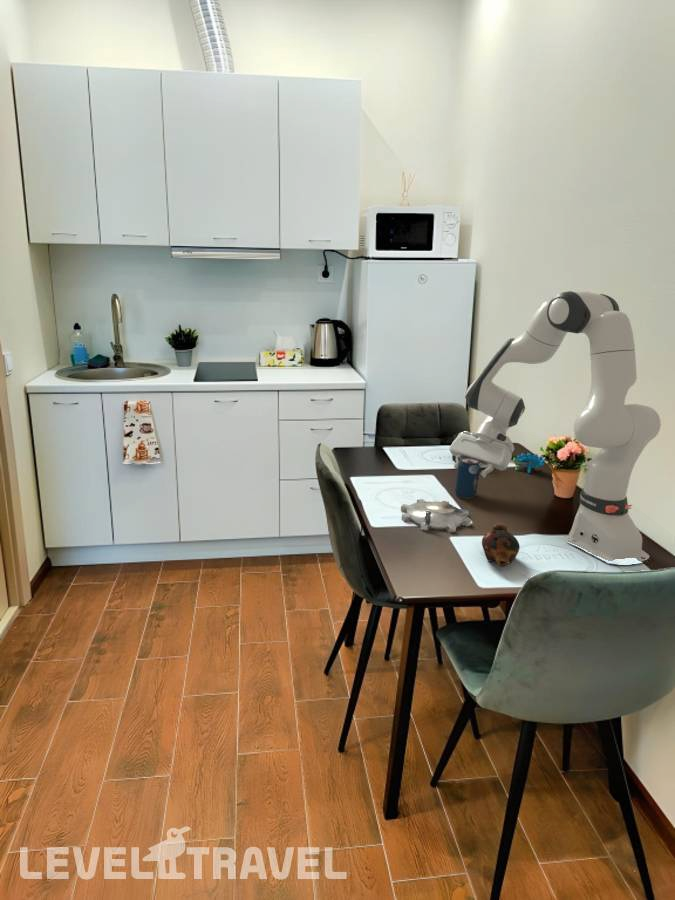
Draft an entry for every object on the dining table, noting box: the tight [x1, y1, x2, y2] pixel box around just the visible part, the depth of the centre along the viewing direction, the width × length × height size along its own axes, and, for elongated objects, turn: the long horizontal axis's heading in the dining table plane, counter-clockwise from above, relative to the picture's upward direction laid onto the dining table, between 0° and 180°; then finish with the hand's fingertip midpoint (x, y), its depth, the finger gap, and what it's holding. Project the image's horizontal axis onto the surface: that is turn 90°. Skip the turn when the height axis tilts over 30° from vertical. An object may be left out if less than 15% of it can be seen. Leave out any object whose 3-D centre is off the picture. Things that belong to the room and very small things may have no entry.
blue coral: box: [512, 452, 546, 474], centre depth 245 cm, size 11×6×10 cm
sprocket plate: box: [400, 498, 472, 534], centre depth 200 cm, size 21×21×4 cm
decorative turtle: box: [481, 522, 521, 567], centre depth 176 cm, size 10×15×8 cm, turn 178°
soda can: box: [454, 457, 481, 500], centre depth 217 cm, size 7×7×12 cm
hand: (468, 472), depth 217 cm, fingers open, 8 cm apart
